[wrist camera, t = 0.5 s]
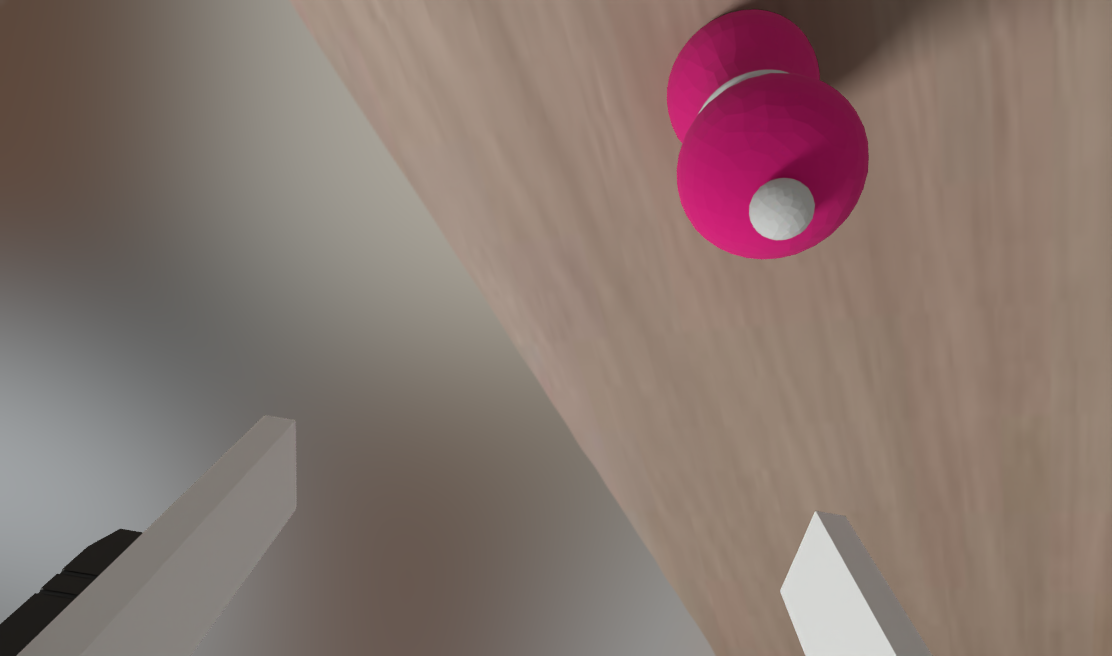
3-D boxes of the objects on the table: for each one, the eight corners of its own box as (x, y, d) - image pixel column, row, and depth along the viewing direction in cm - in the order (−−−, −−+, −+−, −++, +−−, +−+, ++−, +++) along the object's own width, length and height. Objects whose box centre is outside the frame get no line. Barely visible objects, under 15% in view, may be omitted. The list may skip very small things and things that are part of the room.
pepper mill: (680, -4, 30) (676, 70, 14) (820, 5, 29) (990, 96, 13) (659, 133, 34) (638, 311, 18) (781, 144, 33) (873, 343, 17)
